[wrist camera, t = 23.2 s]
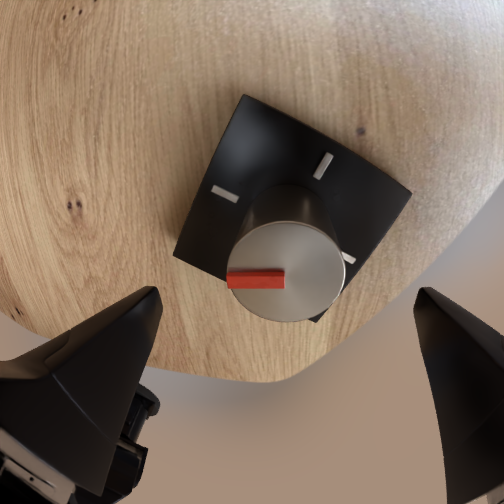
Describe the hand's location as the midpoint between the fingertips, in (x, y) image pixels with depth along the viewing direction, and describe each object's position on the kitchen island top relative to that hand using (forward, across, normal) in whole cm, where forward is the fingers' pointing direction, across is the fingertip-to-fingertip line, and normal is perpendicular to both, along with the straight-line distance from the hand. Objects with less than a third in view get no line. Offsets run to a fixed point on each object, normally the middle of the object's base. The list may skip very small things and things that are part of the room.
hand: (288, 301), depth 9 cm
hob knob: (+6, 0, 0) cm, 6 cm away
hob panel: (+8, 0, 0) cm, 8 cm away
